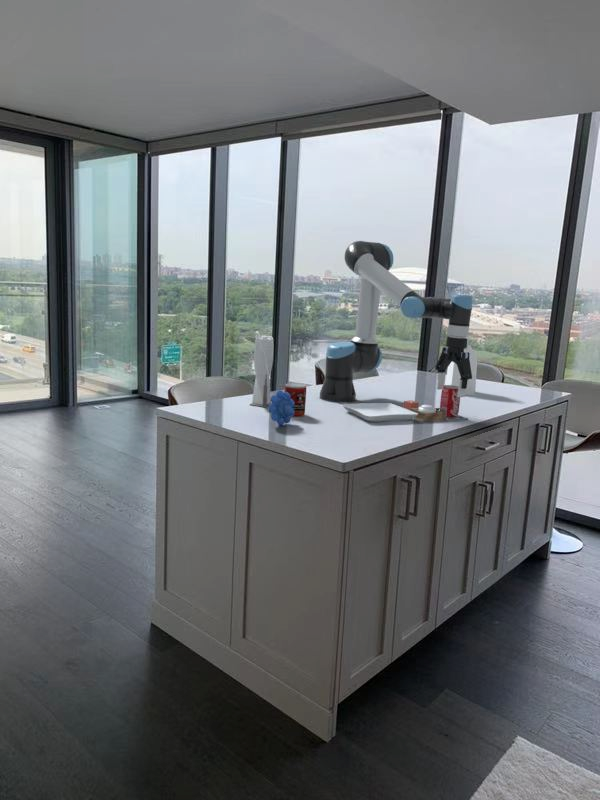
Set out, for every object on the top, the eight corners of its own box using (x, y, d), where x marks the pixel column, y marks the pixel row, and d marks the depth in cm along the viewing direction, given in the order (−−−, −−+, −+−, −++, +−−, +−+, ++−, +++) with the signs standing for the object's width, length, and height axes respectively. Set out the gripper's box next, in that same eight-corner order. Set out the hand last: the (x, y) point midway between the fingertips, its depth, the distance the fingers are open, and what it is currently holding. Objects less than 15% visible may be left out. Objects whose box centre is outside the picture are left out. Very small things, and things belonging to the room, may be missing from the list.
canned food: (289, 417, 218) (291, 386, 216) (280, 412, 225) (281, 383, 223) (308, 416, 222) (310, 386, 220) (298, 411, 229) (300, 382, 227)
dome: (423, 416, 225) (424, 408, 224) (414, 412, 231) (415, 404, 230) (438, 416, 227) (439, 407, 227) (429, 412, 233) (430, 404, 232)
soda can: (459, 417, 235) (462, 386, 233) (455, 420, 229) (459, 388, 226) (441, 414, 238) (444, 384, 235) (437, 417, 231) (440, 386, 229)
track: (445, 421, 226) (445, 419, 226) (417, 409, 244) (417, 408, 244) (468, 420, 230) (468, 418, 230) (438, 409, 248) (439, 407, 248)
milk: (475, 395, 285) (481, 339, 280) (450, 393, 285) (456, 337, 280) (468, 390, 297) (474, 336, 292) (444, 389, 297) (450, 335, 292)
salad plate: (340, 412, 234) (341, 403, 233) (389, 410, 242) (390, 401, 241) (367, 425, 215) (367, 415, 214) (418, 423, 223) (419, 413, 222)
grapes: (277, 430, 199) (279, 393, 196) (263, 426, 203) (264, 390, 201) (302, 425, 207) (304, 390, 205) (287, 421, 212) (289, 387, 209)
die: (410, 413, 237) (411, 402, 236) (403, 411, 240) (403, 400, 239) (417, 412, 239) (418, 402, 239) (410, 410, 242) (411, 400, 242)
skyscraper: (246, 404, 235) (249, 331, 230) (256, 401, 243) (259, 330, 237) (265, 407, 232) (269, 333, 227) (275, 404, 239) (279, 332, 234)
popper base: (422, 421, 224) (423, 413, 223) (409, 416, 232) (410, 408, 231) (443, 420, 227) (444, 412, 226) (430, 415, 235) (430, 407, 234)
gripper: (487, 341, 217) (479, 400, 221) (446, 333, 240) (440, 386, 244) (469, 341, 214) (461, 400, 219) (430, 332, 237) (424, 386, 241)
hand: (450, 393), depth 231 cm, fingers open, 13 cm apart
